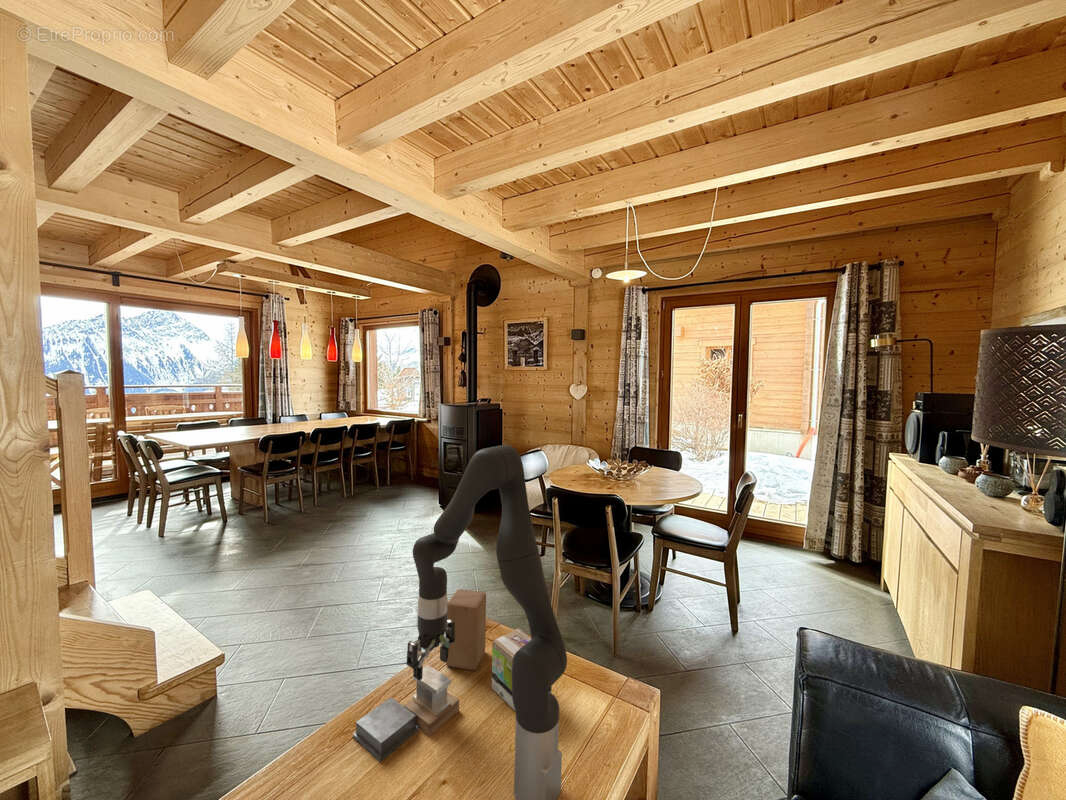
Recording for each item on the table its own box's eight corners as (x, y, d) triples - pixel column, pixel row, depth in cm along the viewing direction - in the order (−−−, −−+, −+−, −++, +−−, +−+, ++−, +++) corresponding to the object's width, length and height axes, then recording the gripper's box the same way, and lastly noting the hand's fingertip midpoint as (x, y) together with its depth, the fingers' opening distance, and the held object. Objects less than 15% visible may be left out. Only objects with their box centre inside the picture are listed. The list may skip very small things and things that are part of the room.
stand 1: (418, 730, 107) (418, 715, 107) (380, 762, 98) (380, 745, 98) (391, 709, 114) (391, 695, 113) (353, 737, 105) (352, 722, 104)
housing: (450, 704, 112) (451, 679, 111) (436, 717, 108) (436, 690, 107) (427, 689, 117) (427, 664, 117) (412, 700, 113) (412, 675, 113)
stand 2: (458, 710, 114) (459, 699, 114) (429, 736, 106) (429, 724, 105) (433, 693, 120) (433, 683, 119) (403, 716, 111) (403, 705, 111)
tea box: (490, 689, 122) (491, 639, 121) (517, 673, 128) (518, 626, 127) (524, 722, 110) (525, 667, 110) (552, 703, 117) (554, 651, 116)
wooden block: (475, 672, 128) (476, 607, 127) (444, 667, 130) (445, 603, 129) (486, 651, 138) (487, 591, 137) (456, 646, 140) (457, 587, 139)
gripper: (420, 628, 103) (419, 692, 104) (462, 603, 114) (461, 660, 116) (400, 616, 107) (399, 678, 108) (443, 593, 119) (442, 649, 120)
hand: (431, 669), depth 112 cm, fingers open, 8 cm apart
